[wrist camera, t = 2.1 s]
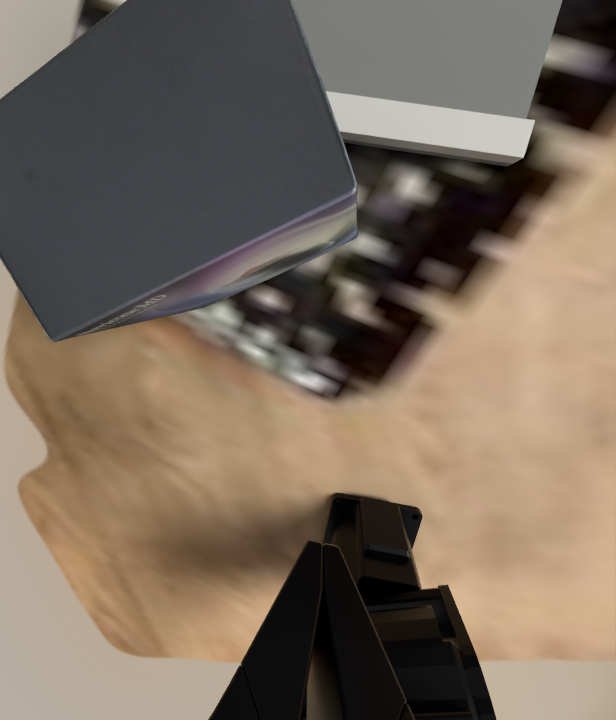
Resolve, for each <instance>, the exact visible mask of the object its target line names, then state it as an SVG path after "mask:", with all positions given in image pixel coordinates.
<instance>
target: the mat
mask: <svg viewBox="0 0 616 720" xmlns="http://www.w3.org/2000/svg"><path fill="white" fill-rule="evenodd" d="M292 1H293V3H294V6H295V9H296V11H297V14H298V17H299V20H300V23H301V26H302V28H303V31H304V34H305V36H306V39H307V42H308V45H309V48H310V50H311V53H312V56H313V58H314V61H315V64H316V67H317V69H318V72H319V74H320V77H321V79H322V82H323V85H324V88H325V91H326V94H327V97H328V99H329V102H330V105H331V108H332V111H333V114H334V117H335V119H336V122H337V125H338V128H339V131H340V133H341V136H342V138H343V141H344V143H350V144H356V145H363V146H370V147H377V148H384V149H391V150H398V151H404V152H411V153H418V154H425V155H432V156H439V157H446V158H453V159H459V160H466V161H473V162H480V163H487V164H494V165H501V166H509V165H511V164H513V163H515V162H517V161H518V160H520V159H522V158H524V155H525V151H526V148H527V145H528V142H529V139H530V135H531V132H532V129H533V126H534V123H535V120H528V119H526V118H527V114H528V111H529V108H530V105H531V101H532V98H533V95H534V91H535V88H536V85H537V82H538V78H539V75H540V72H541V69H542V65H543V62H544V59H545V55H546V52H547V49H548V46H549V42H550V39H551V36H552V33H553V29H554V26H555V23H556V19H557V16H558V13H559V10H560V6H561V3H562V0H292Z"/></svg>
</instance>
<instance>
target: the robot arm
mask: <svg viewBox="0 0 616 720" xmlns="http://www.w3.org/2000/svg"><path fill="white" fill-rule="evenodd" d="M337 500H341V502H337ZM413 514H417V515H415V516H413ZM421 520H422V514H421V511H420V509H418V508H416V507H411V506H406V505H400V504H395V503H390V502H384V501H379V500H373V499H368V498H362V497H357V496H351V495H346V494H340V493H337V494H335V495H333V497H332V501H331V506H330V511H329V515H328V520H327V525H326V529H325V534H324V539H323V543H322V542H319V541H314V540H308V541H307V542H306V544H305V546H304V548H303V549H302V551H301V553H300V555H299V557H298V559H297V561H296V562H295V564H294V566H293V568H292V570H291V572H290V573H289V575H288V577H287V579H286V581H285V583H284V585H283V586H282V588H281V590H280V592H279V594H278V596H277V597H276V599H275V601H274V603H273V605H272V607H271V609H270V610H269V612H268V614H267V616H266V618H265V620H264V621H263V623H262V625H261V627H260V629H259V631H258V633H257V634H256V636H255V638H254V640H253V642H252V644H251V645H250V647H249V649H248V651H247V653H246V655H245V657H244V658H243V660H242V662H241V666H239V667H238V669H237V671H236V673H235V675H234V676H233V678H232V680H231V682H230V684H229V686H228V687H227V689H226V691H225V692H224V694H223V696H222V698H221V699H220V701H219V703H218V705H217V706H216V708H215V710H214V712H213V713H212V715H211V716H210V718H209V719H208V720H496V716H495V713H494V709H493V706H492V702H491V699H490V696H489V692H488V689H487V686H486V683H485V679H484V676H483V673H482V670H481V667H480V664H479V661H478V659H477V656H476V653H475V650H474V648H473V645H472V643H471V640H470V638H469V635H468V633H467V631H466V628H465V626H464V623H463V621H462V618H461V616H460V613H459V611H458V609H457V606H456V604H455V601H454V599H453V596H452V594H451V591H450V589H449V587H448V585H441V586H438V588H432V589H422V588H421V584H420V580H419V576H418V572H417V568H416V564H415V561H414V557H413V553H412V548H413V545H414V542H415V539H416V536H417V533H418V529H419V526H420V523H421Z"/></svg>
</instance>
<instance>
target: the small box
mask: <svg viewBox="0 0 616 720" xmlns="http://www.w3.org/2000/svg"><path fill="white" fill-rule="evenodd" d="M357 235H358V232H357V182H356V178H355V175H354V172H353V169H352V166H351V163H350V160H349V158H348V154H347V151H346V148H345V145H344V141H343V138H342V136H341V133H340V131H339V128H338V125H337V122H336V119H335V117H334V114H333V111H332V108H331V105H330V102H329V99H328V97H327V94H326V91H325V88H324V85H323V82H322V79H321V77H320V74H319V72H318V69H317V67H316V64H315V61H314V58H313V56H312V53H311V50H310V48H309V45H308V42H307V39H306V36H305V34H304V31H303V28H302V26H301V23H300V20H299V17H298V14H297V11H296V9H295V6H294V3H293V1H292V0H127V1H125V2H124V3H123V4H121V5H120V6H119V7H118V8H116V9H115V10H114V11H112V12H111V13H110V14H109V15H107V16H106V17H105V18H103V19H102V20H101V21H100V22H98V23H97V24H96V25H94V26H93V27H92V28H90V29H89V30H88V31H87V32H86V33H84V34H83V35H82V36H80V37H79V38H78V39H76V40H75V41H74V42H73V43H72V44H71V45H69V46H68V47H66V48H65V49H64V50H62V51H61V52H60V53H59V54H57V55H56V56H55V57H54V58H52V59H51V60H50V61H49V62H48V63H46V64H45V65H44V66H42V67H41V68H40V69H38V70H37V71H36V72H34V73H33V74H32V75H31V76H29V77H28V78H27V79H25V80H24V81H23V82H22V83H20V84H19V85H18V86H16V87H15V88H14V89H13V90H11V91H10V92H9V93H8V94H6V95H5V96H4V97H2V98H1V99H0V259H1V261H2V263H3V264H4V266H5V267H6V269H7V270H8V272H9V274H10V275H11V277H12V279H13V280H14V282H15V284H16V286H17V287H18V289H19V291H20V292H21V294H22V296H23V298H24V299H25V301H26V302H27V304H28V306H29V307H30V309H31V311H32V312H33V314H34V315H35V317H36V319H37V320H38V322H39V324H40V325H41V327H42V328H43V330H44V332H45V333H46V335H47V337H48V339H49V340H51V341H52V342H57V341H61V340H64V339H68V338H71V337H76V336H81V335H86V334H90V333H94V332H99V331H103V330H107V329H112V328H117V327H121V326H125V325H130V324H134V323H138V322H143V321H147V320H152V319H156V318H160V317H165V316H169V315H173V314H178V313H183V312H187V311H191V310H195V309H199V308H203V307H206V306H209V305H212V304H214V303H216V302H219V301H221V300H223V299H225V298H228V297H230V296H232V295H234V294H237V293H239V292H241V291H243V290H246V289H248V288H250V287H252V286H255V285H257V284H259V283H261V282H264V281H266V280H268V279H270V278H273V277H275V276H277V275H279V274H281V273H284V272H286V271H288V270H290V269H292V268H294V267H297V266H299V265H301V264H303V263H305V262H307V261H310V260H312V259H314V258H316V257H318V256H320V255H323V254H325V253H327V252H329V251H331V250H333V249H335V248H337V247H339V246H341V245H343V244H345V243H347V242H349V241H351V240H353V239H355V238H356V237H357Z"/></svg>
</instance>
